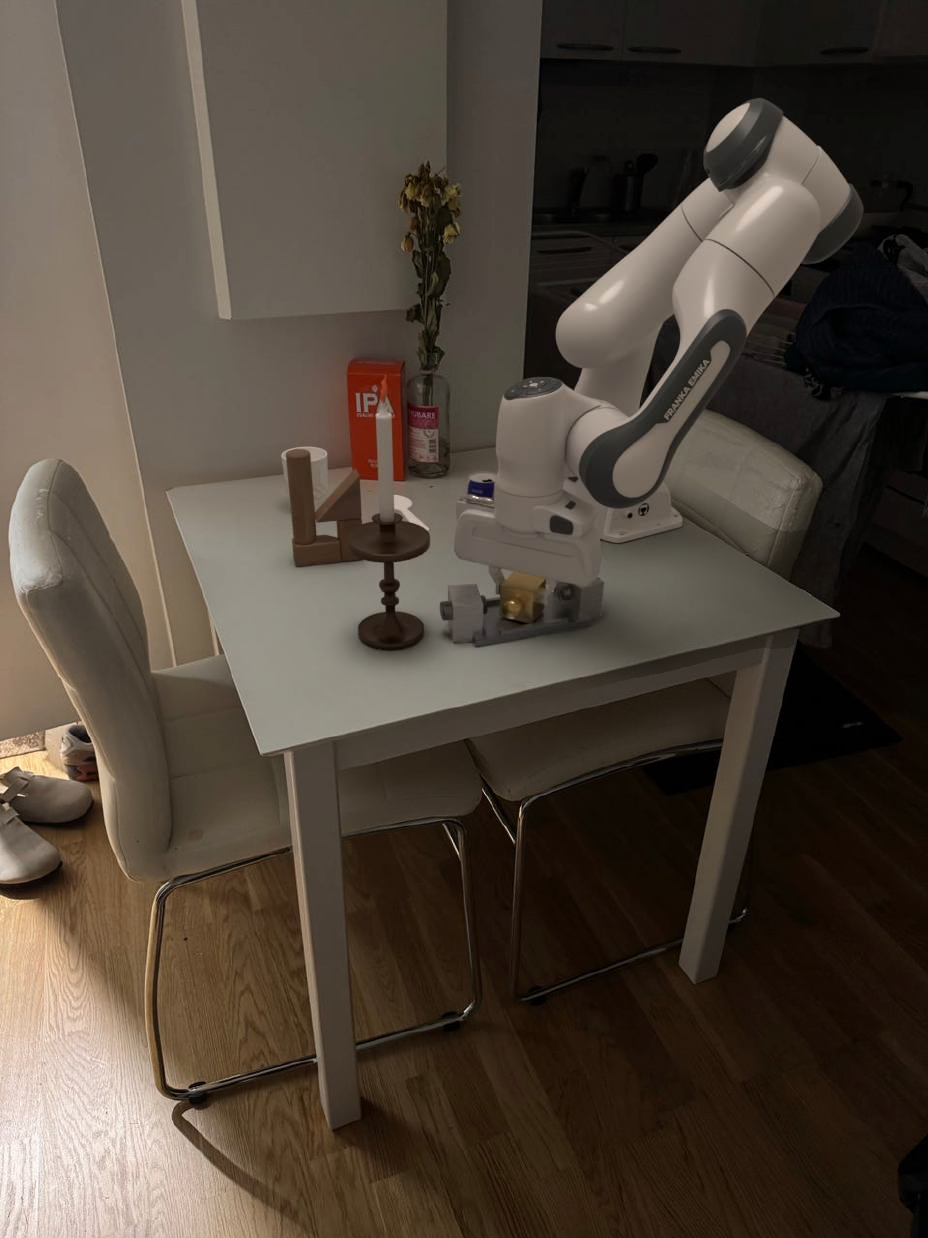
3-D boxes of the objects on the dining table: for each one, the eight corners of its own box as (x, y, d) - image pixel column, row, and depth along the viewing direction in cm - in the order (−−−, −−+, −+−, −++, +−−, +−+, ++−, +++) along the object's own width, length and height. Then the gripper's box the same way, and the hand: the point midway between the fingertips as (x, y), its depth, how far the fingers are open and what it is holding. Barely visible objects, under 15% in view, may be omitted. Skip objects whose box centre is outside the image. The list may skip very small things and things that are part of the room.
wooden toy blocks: (364, 560, 140) (358, 451, 131) (296, 567, 137) (285, 457, 128) (360, 550, 143) (354, 443, 134) (293, 557, 141) (283, 449, 132)
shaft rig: (582, 594, 131) (585, 560, 128) (611, 623, 124) (614, 587, 121) (432, 618, 124) (432, 583, 121) (453, 651, 117) (453, 614, 114)
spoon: (410, 536, 149) (410, 533, 148) (376, 499, 163) (376, 496, 163) (439, 531, 151) (439, 528, 150) (403, 494, 165) (403, 492, 165)
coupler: (518, 594, 127) (519, 565, 125) (549, 602, 125) (551, 572, 123) (493, 622, 120) (494, 591, 118) (525, 630, 119) (527, 599, 116)
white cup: (339, 505, 160) (336, 451, 155) (310, 519, 154) (306, 464, 149) (306, 495, 163) (302, 443, 158) (277, 509, 157) (271, 455, 152)
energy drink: (475, 555, 142) (477, 485, 136) (460, 542, 146) (461, 473, 140) (504, 548, 144) (507, 479, 138) (488, 536, 148) (490, 468, 142)
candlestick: (385, 606, 127) (375, 360, 110) (446, 628, 122) (447, 373, 104) (334, 638, 119) (316, 378, 102) (397, 663, 114) (389, 393, 97)
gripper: (445, 499, 117) (446, 592, 123) (593, 528, 109) (585, 625, 116) (466, 484, 121) (465, 573, 128) (609, 510, 114) (600, 604, 121)
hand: (523, 598), depth 122 cm, fingers closed on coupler, 5 cm apart
